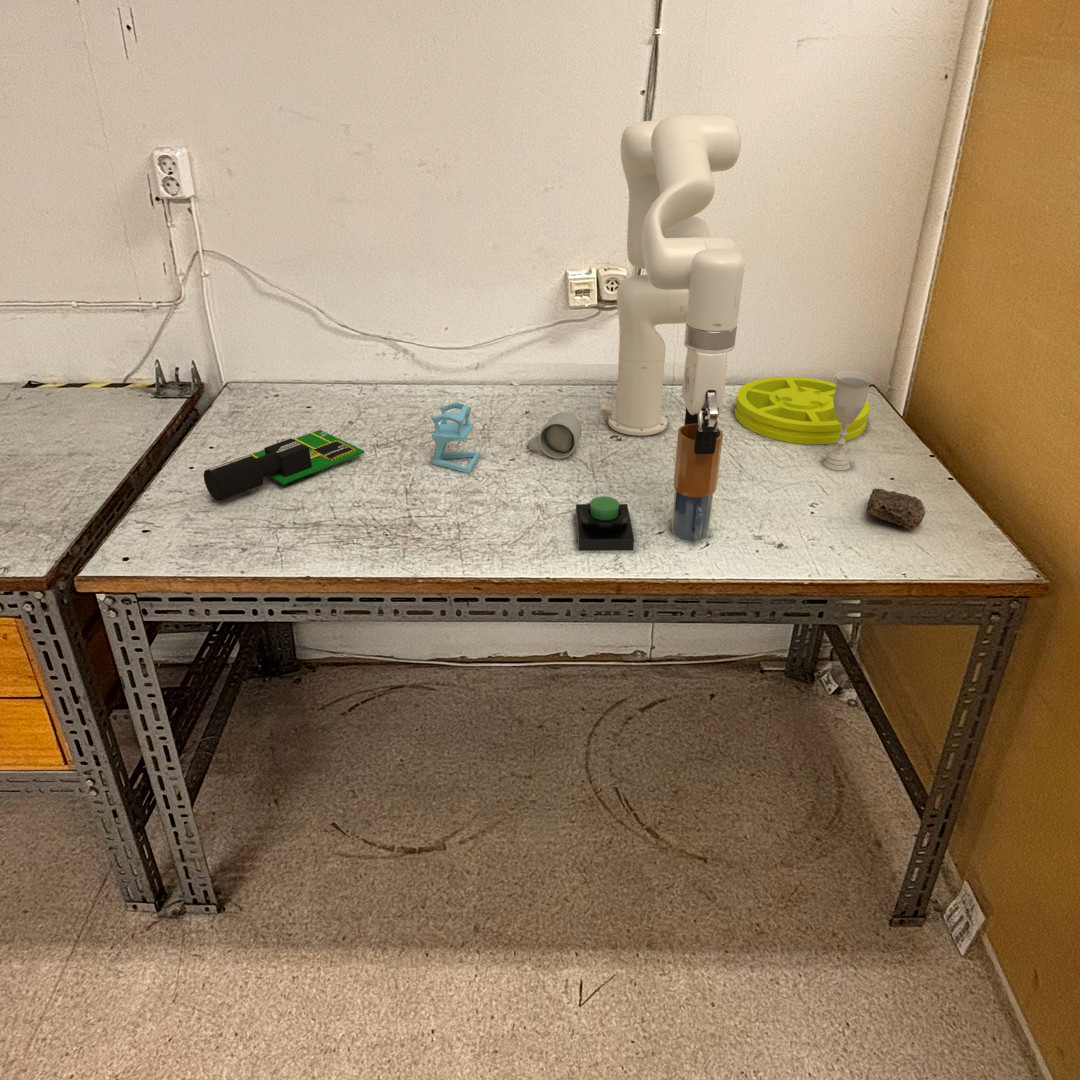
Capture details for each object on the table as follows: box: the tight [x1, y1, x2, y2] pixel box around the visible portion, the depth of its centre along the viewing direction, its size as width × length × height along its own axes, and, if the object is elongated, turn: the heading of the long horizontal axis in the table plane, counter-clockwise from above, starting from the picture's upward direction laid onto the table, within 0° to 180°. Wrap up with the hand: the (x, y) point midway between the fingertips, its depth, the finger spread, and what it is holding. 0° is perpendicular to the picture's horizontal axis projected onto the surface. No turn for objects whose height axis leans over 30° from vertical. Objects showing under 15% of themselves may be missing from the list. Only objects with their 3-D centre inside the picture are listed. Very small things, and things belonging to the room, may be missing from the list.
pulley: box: [734, 376, 870, 445], centre depth 188 cm, size 28×28×5 cm
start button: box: [589, 496, 620, 520], centre depth 145 cm, size 5×5×2 cm
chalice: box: [823, 369, 874, 471], centre depth 165 cm, size 7×7×18 cm
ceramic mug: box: [527, 411, 583, 460], centre depth 173 cm, size 11×8×8 cm
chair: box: [431, 402, 480, 474], centre depth 167 cm, size 8×8×12 cm
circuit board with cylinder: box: [203, 429, 365, 503], centre depth 165 cm, size 30×7×15 cm
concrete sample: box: [866, 487, 926, 529], centre depth 150 cm, size 12×10×5 cm
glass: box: [673, 423, 724, 498], centre depth 140 cm, size 7×7×10 cm
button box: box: [575, 502, 635, 552], centre depth 146 cm, size 12×9×4 cm
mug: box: [671, 490, 714, 542], centre depth 144 cm, size 9×6×8 cm
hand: (699, 439), depth 139 cm, fingers open, 9 cm apart
